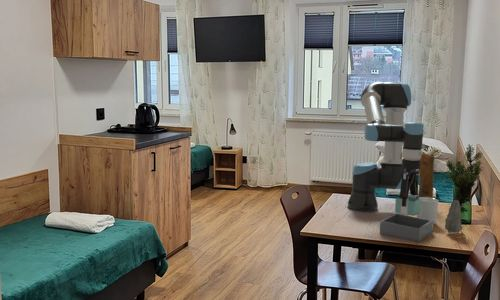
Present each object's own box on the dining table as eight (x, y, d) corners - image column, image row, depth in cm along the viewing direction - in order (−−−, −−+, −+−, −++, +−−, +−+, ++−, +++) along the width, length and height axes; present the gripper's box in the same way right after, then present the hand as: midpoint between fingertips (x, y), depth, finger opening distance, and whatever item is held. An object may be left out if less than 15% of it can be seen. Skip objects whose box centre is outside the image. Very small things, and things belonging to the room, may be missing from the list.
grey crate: (379, 233, 203) (380, 221, 202) (394, 225, 216) (395, 213, 215) (418, 242, 193) (419, 229, 192) (432, 233, 206) (433, 220, 205)
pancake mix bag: (423, 210, 244) (428, 156, 240) (411, 201, 263) (415, 150, 259) (436, 210, 244) (441, 156, 240) (423, 201, 263) (427, 151, 259)
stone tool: (459, 231, 209) (462, 198, 207) (463, 233, 206) (466, 200, 204) (441, 231, 208) (444, 198, 206) (445, 234, 205) (448, 200, 202)
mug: (439, 225, 217) (441, 201, 215) (420, 225, 217) (421, 201, 215) (429, 218, 229) (431, 195, 227) (411, 217, 229) (412, 195, 227)
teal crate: (395, 212, 202) (395, 198, 201) (402, 208, 208) (403, 195, 208) (413, 215, 197) (414, 201, 196) (420, 212, 203) (421, 198, 203)
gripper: (411, 162, 189) (407, 218, 192) (428, 157, 206) (424, 208, 209) (393, 160, 194) (389, 214, 197) (411, 155, 210) (408, 205, 213)
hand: (407, 211), depth 203 cm, fingers closed on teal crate, 8 cm apart
